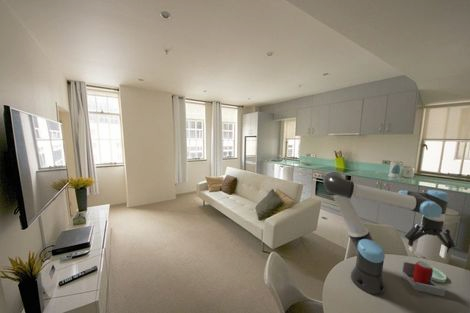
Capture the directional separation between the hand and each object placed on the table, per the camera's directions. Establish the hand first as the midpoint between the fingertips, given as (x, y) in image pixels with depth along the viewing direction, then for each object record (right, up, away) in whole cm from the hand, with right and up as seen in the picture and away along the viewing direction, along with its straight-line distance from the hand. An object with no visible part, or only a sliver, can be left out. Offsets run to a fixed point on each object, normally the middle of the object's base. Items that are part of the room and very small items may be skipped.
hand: (426, 254), depth 96 cm
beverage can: (-1, -19, +2) cm, 19 cm away
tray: (+13, -18, +10) cm, 24 cm away
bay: (-1, -18, +2) cm, 18 cm away
